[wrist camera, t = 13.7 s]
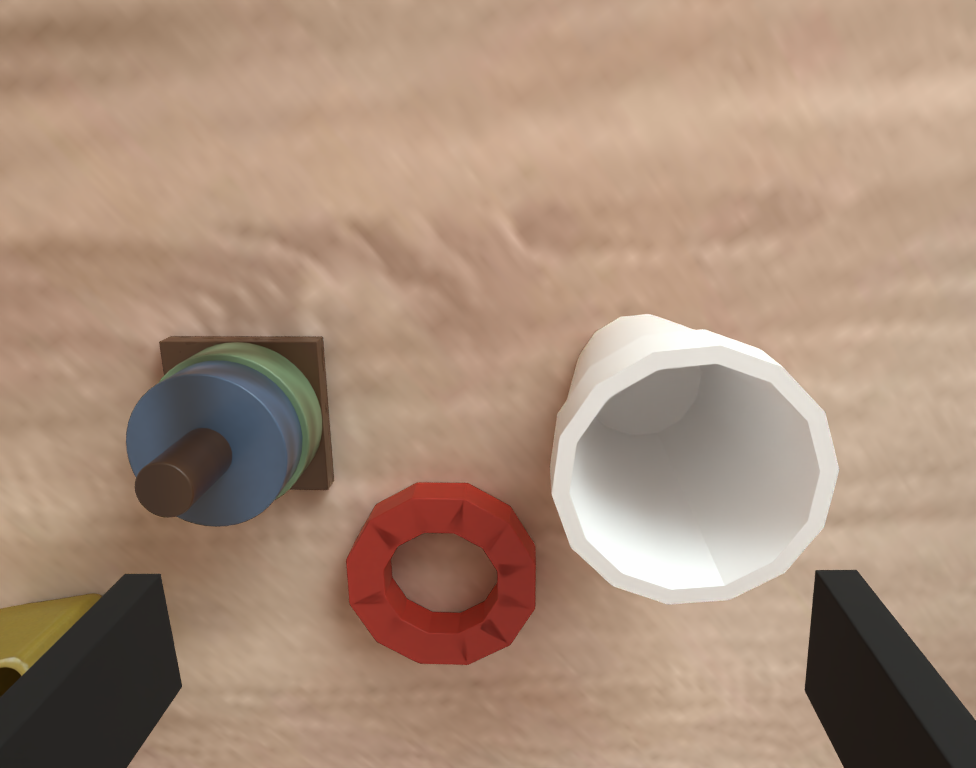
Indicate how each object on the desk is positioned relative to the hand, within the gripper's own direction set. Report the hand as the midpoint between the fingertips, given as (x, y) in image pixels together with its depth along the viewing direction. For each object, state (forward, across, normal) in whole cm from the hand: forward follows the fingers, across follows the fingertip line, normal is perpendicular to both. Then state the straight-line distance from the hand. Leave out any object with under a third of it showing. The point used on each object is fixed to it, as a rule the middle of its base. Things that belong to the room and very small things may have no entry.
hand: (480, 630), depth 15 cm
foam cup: (+24, -6, +1) cm, 24 cm away
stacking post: (+23, +14, +3) cm, 27 cm away
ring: (+23, +4, +12) cm, 27 cm away
